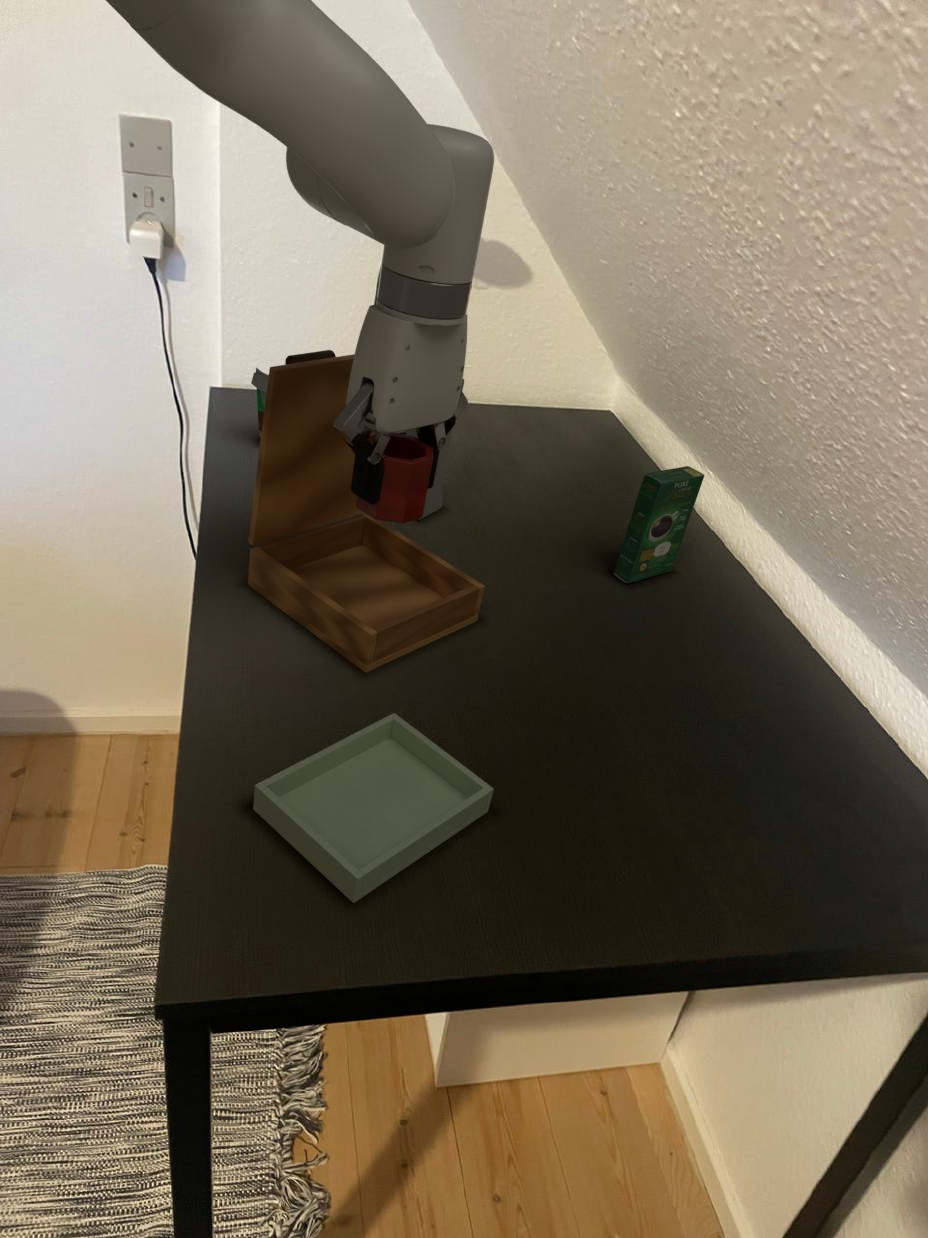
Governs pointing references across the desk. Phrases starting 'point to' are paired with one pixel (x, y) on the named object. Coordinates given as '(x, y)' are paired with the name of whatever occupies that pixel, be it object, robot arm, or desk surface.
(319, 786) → the tray
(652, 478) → the coffee box
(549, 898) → the desk surface
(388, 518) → the red octagonal tube
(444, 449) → the vintage mobile phone
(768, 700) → the desk surface
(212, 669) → the desk surface
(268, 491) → the lid
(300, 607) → the chest
